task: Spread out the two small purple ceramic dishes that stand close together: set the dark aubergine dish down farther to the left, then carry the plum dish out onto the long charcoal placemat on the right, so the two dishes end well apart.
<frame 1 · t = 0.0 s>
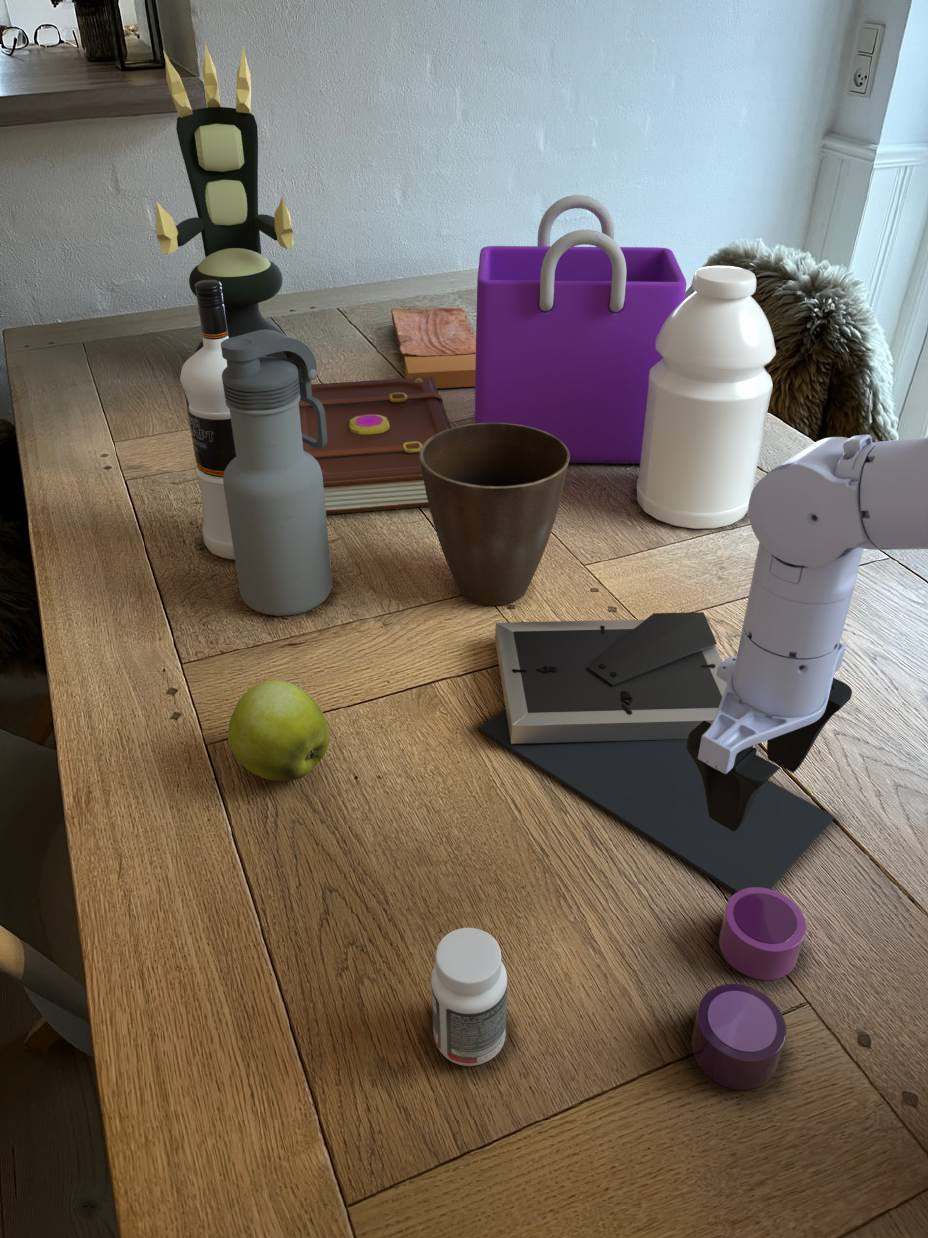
hand: (754, 791, 69), 10 cm above the table, tool pointing down, fingers open, 7 cm apart
shopping bag: (567, 439, 140), on the table
water bottle: (289, 594, 108), on the table
book: (367, 456, 135), on the table
placemat: (646, 772, 85), on the table
plant pot: (492, 588, 109), on the table
throne chair: (244, 366, 162), on the table
aubergine dish: (733, 1050, 64), on the table
bottle: (691, 504, 124), on the table
picture frame: (612, 687, 94), on the table, touching placemat
wooden flat board: (437, 355, 166), on the table
plum dish: (757, 947, 71), on the table
apple: (282, 767, 86), on the table
pill bottle: (469, 1036, 65), on the table
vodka: (245, 543, 117), on the table
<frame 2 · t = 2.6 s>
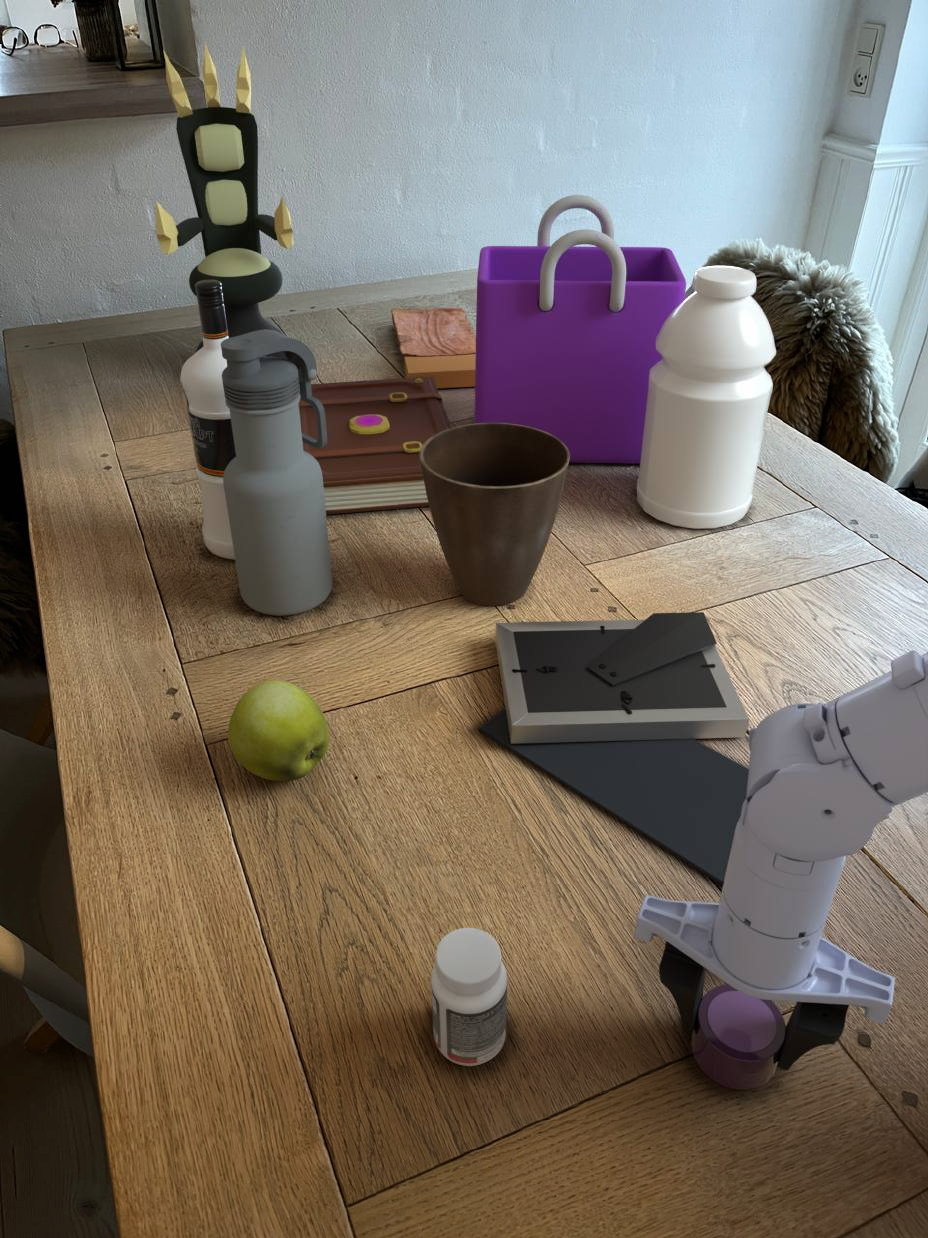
hand: (737, 1038, 64), 1 cm above the table, tool pointing down, fingers closed on aubergine dish, 5 cm apart
aubergine dish: (733, 1050, 64), on the table, touching gripper
everything else where it was.
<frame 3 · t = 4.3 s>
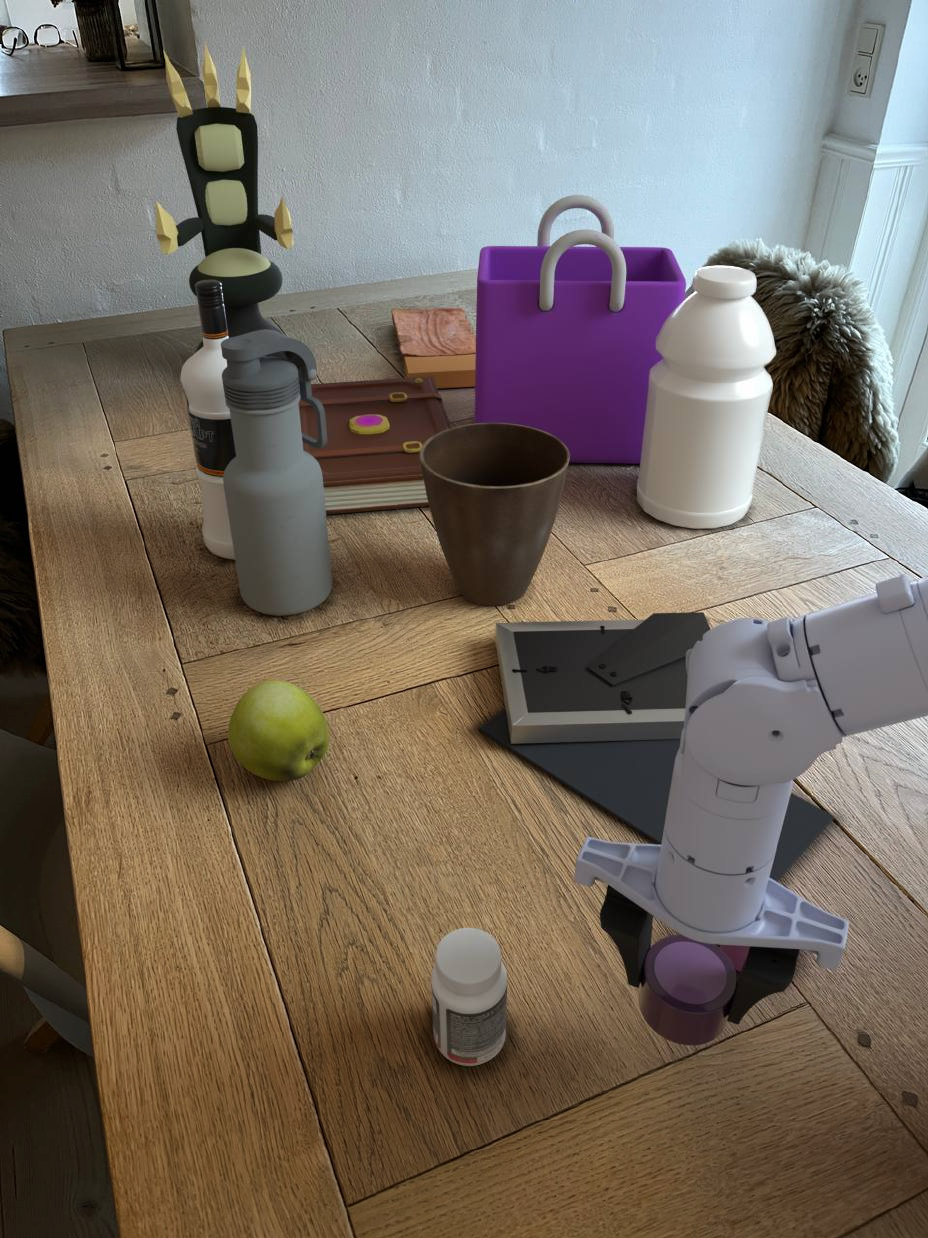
hand: (686, 991, 60), 7 cm above the table, tool pointing down, fingers closed on aubergine dish, 5 cm apart
aubergine dish: (683, 1004, 61), point 6 cm above the table, touching gripper
everything else where it was.
when the fingers open (1 cm above the table, at t = 6.3 s): aubergine dish stays where it is, on the table.
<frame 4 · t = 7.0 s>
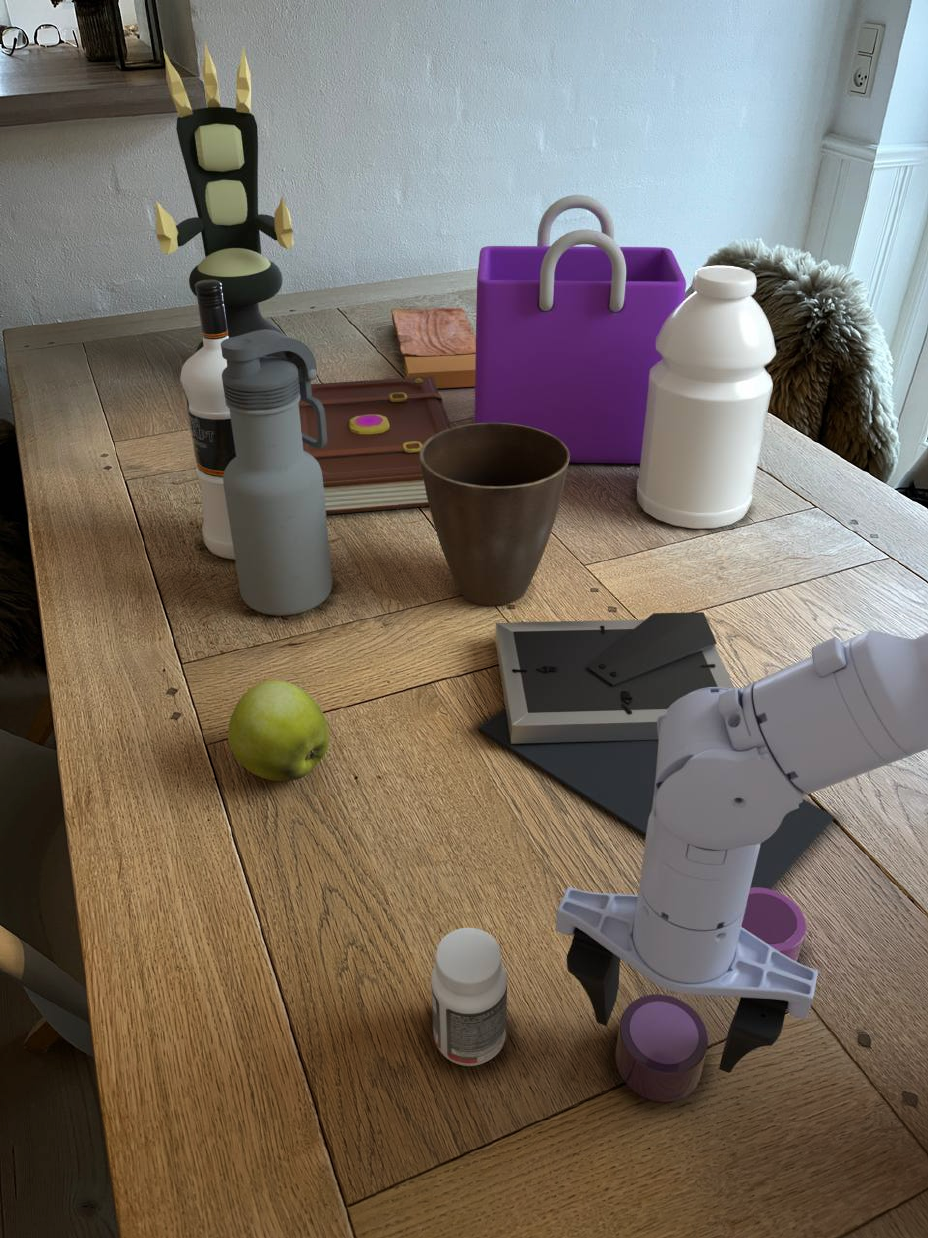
hand: (665, 1034, 62), 3 cm above the table, tool pointing down, fingers open, 7 cm apart
aubergine dish: (658, 1061, 64), on the table
everything else where it was.
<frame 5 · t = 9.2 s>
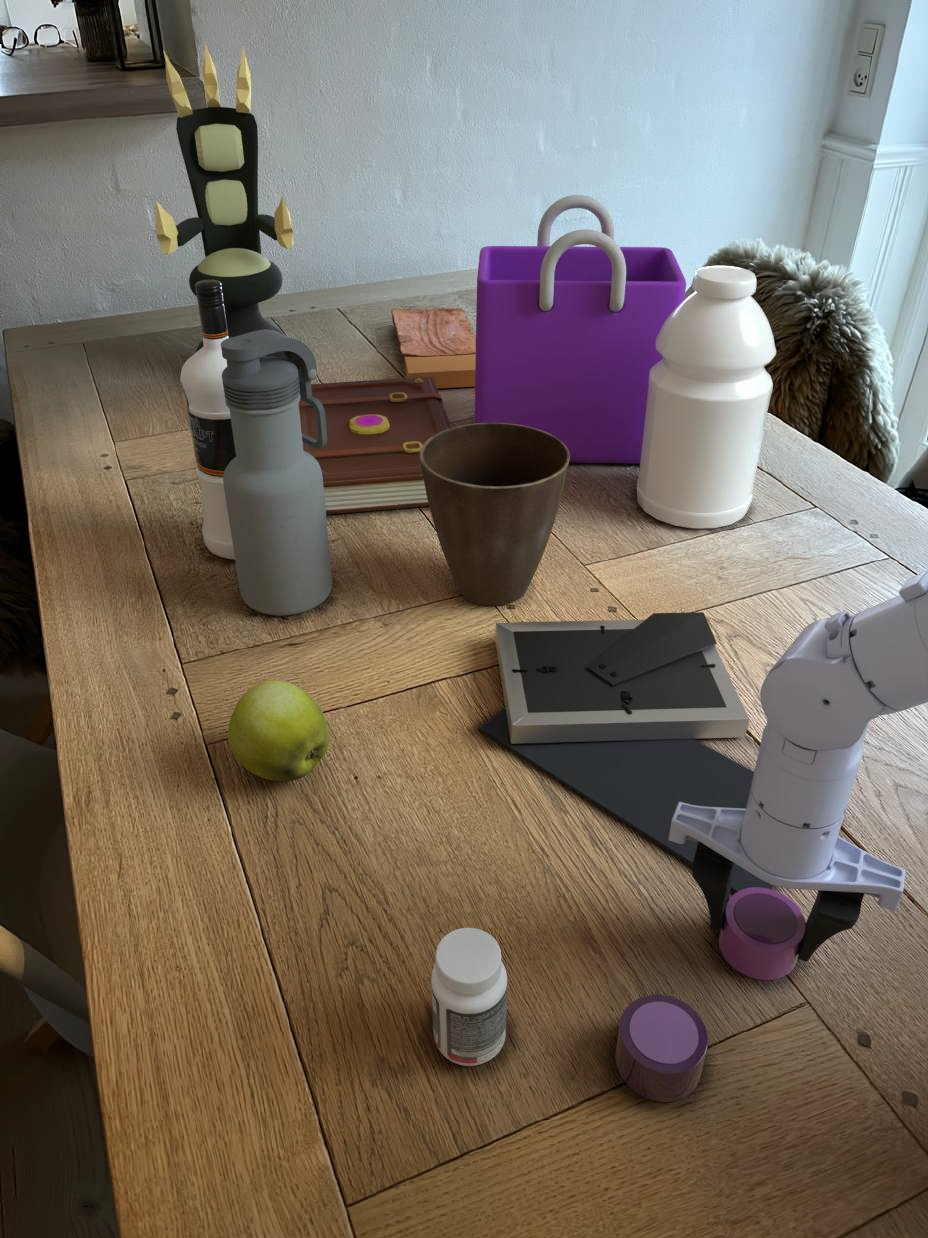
hand: (761, 935, 70), 1 cm above the table, tool pointing down, fingers closed on plum dish, 5 cm apart
plum dish: (757, 947, 71), on the table, touching gripper
everything else where it was.
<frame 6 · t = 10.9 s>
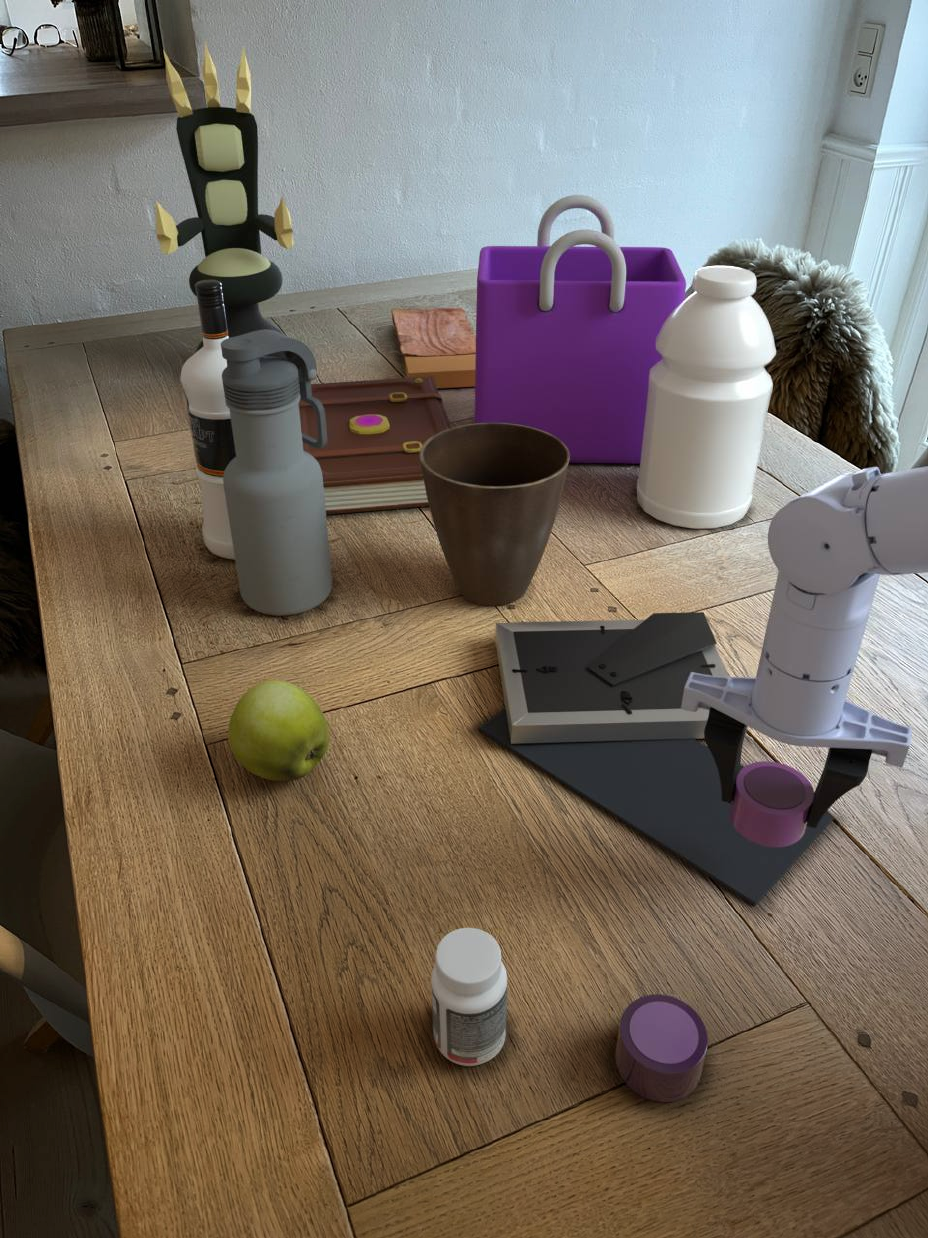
hand: (771, 805, 72), 7 cm above the table, tool pointing down, fingers closed on plum dish, 5 cm apart
plum dish: (766, 819, 73), point 6 cm above the table, touching gripper
everything else where it was.
when the fingers open (2 cm above the table, at t = 13.0 s): plum dish stays where it is, resting on placemat.
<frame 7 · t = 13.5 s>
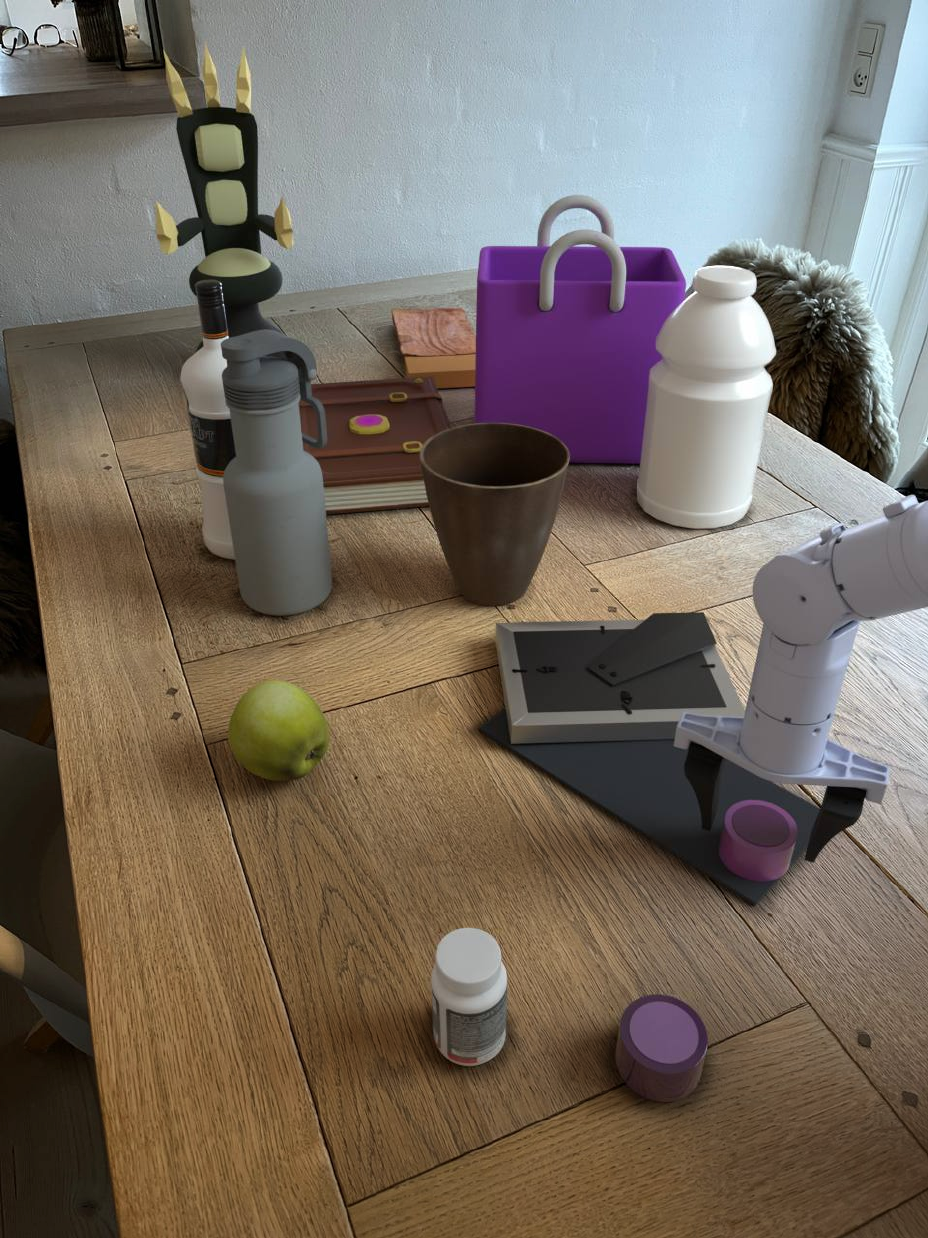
hand: (759, 836, 76), 2 cm above the table, tool pointing down, fingers open, 7 cm apart
plum dish: (753, 854, 77), resting on placemat
everything else where it was.
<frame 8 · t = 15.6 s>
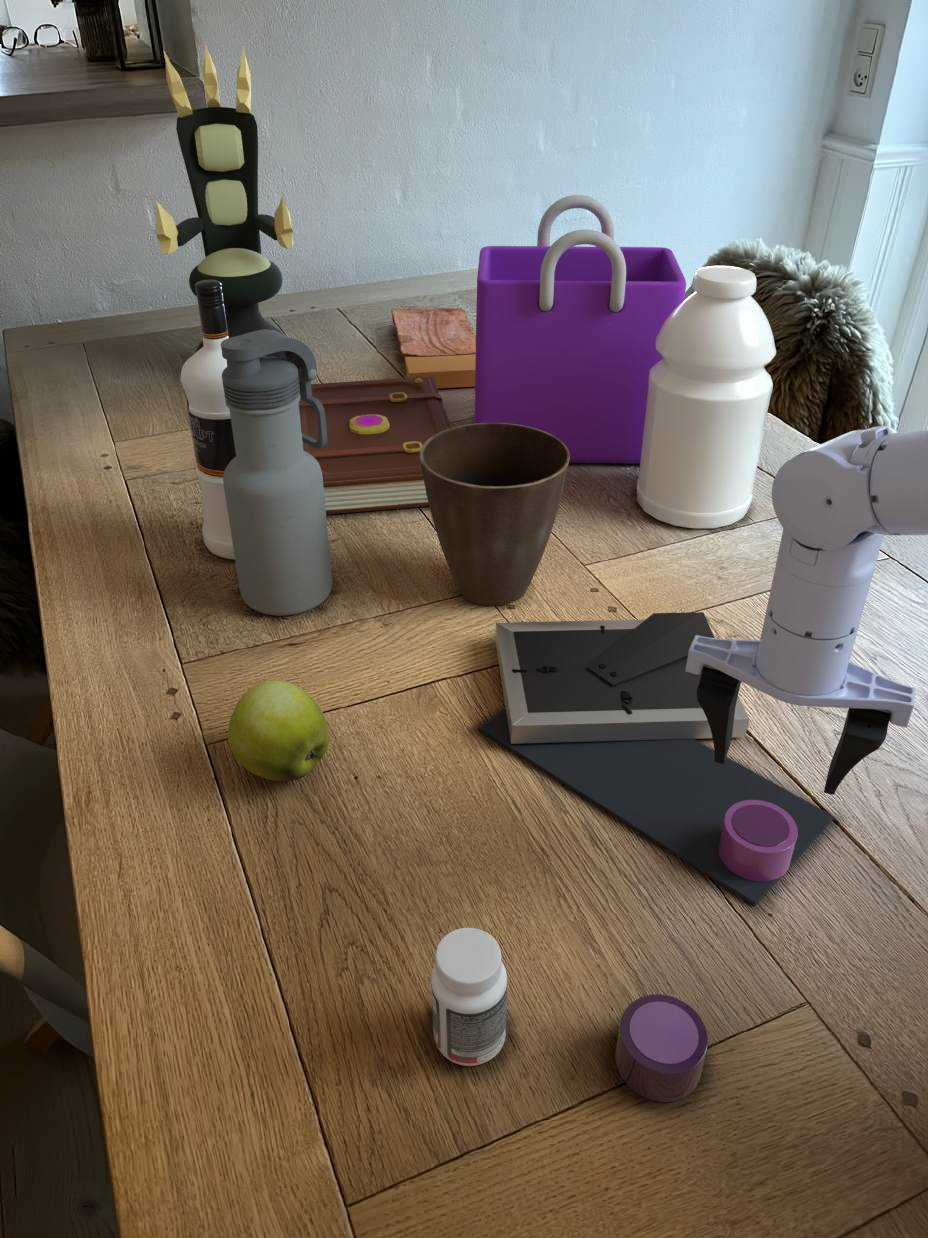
hand: (775, 769, 72), 9 cm above the table, tool pointing down, fingers open, 7 cm apart
nothing on the table moved.
at the end: aubergine dish 0.1 cm from the target spot, on the table; plum dish 0.1 cm from the target spot on the placemat, point 0.4 cm above the placemat's base; plum dish tilted 0° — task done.
